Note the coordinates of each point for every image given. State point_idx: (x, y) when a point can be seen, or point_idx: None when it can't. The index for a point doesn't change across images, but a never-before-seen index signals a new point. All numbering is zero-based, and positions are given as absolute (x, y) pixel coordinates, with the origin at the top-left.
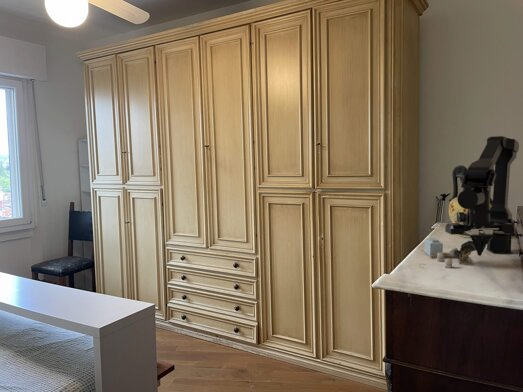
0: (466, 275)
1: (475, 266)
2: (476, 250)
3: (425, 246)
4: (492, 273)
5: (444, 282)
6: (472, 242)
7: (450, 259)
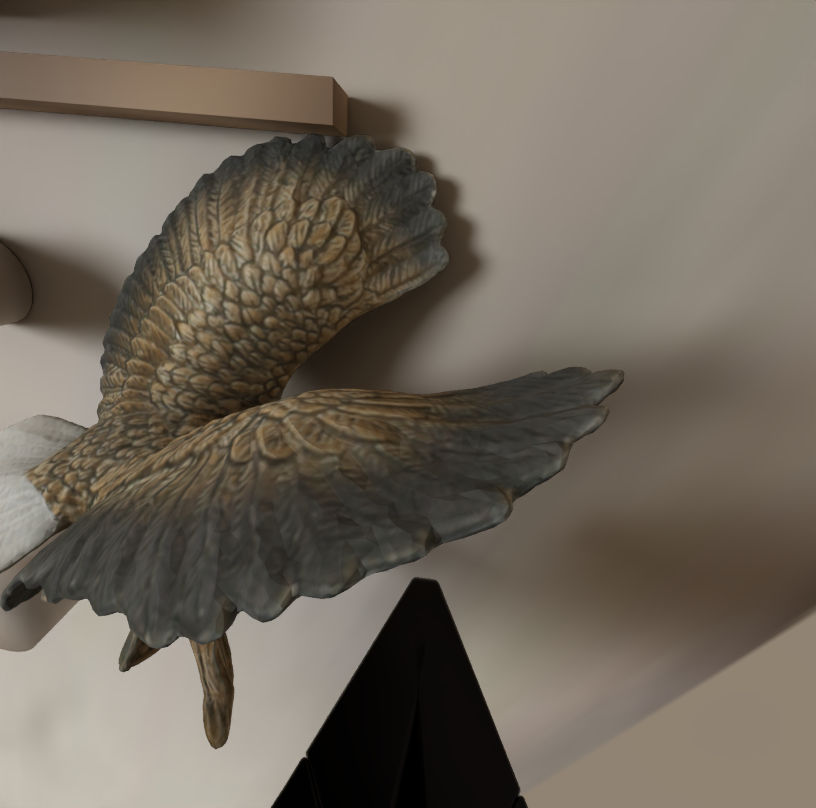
0: (191, 721)
1: None
2: (378, 641)
3: None
4: None
5: (46, 780)
6: (392, 528)
7: (17, 635)
